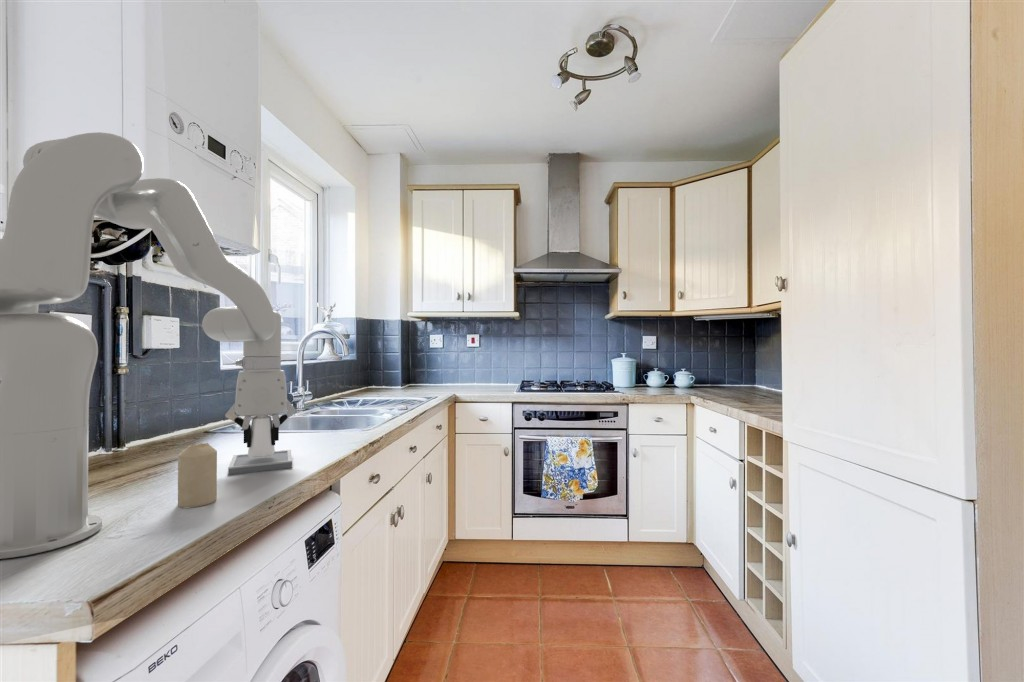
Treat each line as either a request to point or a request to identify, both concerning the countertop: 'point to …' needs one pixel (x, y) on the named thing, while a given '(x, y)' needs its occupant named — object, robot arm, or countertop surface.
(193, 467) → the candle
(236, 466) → the tray
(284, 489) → the countertop surface
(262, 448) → the salt shaker
